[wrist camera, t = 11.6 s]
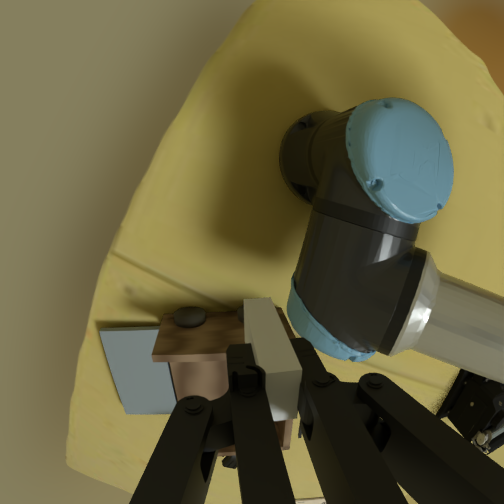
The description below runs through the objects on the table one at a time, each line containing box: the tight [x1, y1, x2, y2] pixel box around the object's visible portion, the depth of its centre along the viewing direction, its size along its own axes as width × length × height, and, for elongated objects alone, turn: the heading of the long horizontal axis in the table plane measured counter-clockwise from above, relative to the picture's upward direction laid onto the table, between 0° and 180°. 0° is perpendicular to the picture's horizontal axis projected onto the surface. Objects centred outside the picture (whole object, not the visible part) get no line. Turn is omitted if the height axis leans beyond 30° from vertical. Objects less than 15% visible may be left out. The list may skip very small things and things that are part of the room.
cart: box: [151, 305, 296, 456], centre depth 46 cm, size 20×26×12 cm
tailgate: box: [99, 326, 177, 414], centre depth 48 cm, size 2×20×11 cm
